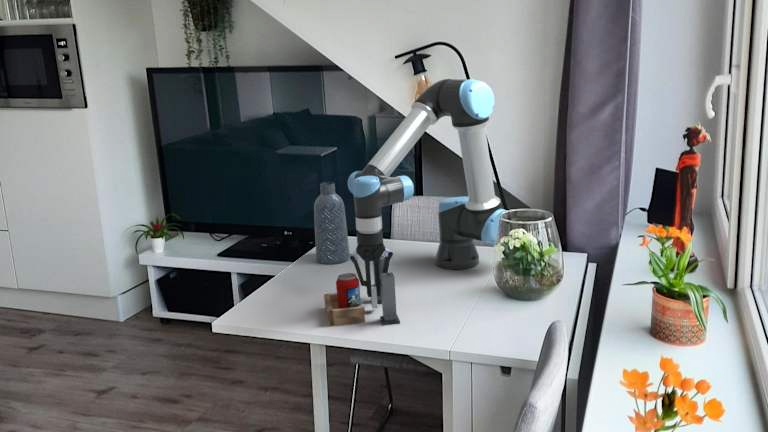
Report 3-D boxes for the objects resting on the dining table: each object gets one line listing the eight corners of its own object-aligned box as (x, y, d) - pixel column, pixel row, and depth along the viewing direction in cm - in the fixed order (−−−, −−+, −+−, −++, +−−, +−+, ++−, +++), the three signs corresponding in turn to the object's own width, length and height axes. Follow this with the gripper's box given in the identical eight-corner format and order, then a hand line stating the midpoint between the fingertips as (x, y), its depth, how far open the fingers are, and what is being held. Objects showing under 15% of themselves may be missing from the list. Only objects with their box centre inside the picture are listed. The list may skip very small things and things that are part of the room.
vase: (355, 259, 275) (350, 183, 268) (325, 267, 269) (319, 189, 262) (340, 252, 285) (334, 178, 278) (310, 258, 280) (304, 183, 272)
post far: (388, 297, 237) (385, 254, 233) (390, 303, 232) (388, 259, 228) (372, 299, 236) (369, 256, 233) (374, 304, 231) (371, 260, 228)
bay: (359, 304, 232) (358, 290, 231) (365, 322, 218) (364, 307, 217) (325, 308, 231) (323, 294, 230) (328, 326, 217) (327, 311, 216)
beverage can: (357, 319, 220) (354, 279, 217) (335, 318, 222) (331, 279, 219) (364, 311, 226) (361, 272, 224) (343, 310, 228) (339, 272, 226)
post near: (397, 317, 221) (394, 271, 217) (400, 323, 216) (397, 276, 213) (380, 318, 220) (377, 273, 217) (382, 325, 215) (379, 278, 212)
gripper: (389, 224, 224) (394, 299, 230) (345, 228, 222) (351, 304, 228) (393, 231, 217) (398, 308, 223) (348, 235, 215) (354, 313, 221)
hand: (374, 306), depth 225 cm, fingers closed
